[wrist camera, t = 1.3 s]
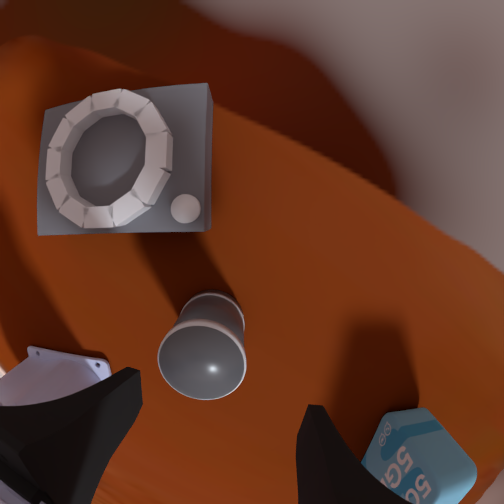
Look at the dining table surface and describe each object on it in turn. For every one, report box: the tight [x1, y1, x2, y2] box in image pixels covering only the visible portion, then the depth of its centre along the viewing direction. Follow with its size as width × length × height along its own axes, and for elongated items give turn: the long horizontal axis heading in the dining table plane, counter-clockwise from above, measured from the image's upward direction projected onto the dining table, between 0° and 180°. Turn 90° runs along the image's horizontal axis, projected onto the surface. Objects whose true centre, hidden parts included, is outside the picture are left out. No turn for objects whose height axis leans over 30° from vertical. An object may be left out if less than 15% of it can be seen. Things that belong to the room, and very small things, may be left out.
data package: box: [361, 408, 477, 504], centre depth 18 cm, size 12×4×12 cm, turn 173°
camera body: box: [37, 83, 213, 235], centre depth 17 cm, size 12×9×5 cm
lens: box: [158, 290, 246, 400], centre depth 17 cm, size 5×5×7 cm
